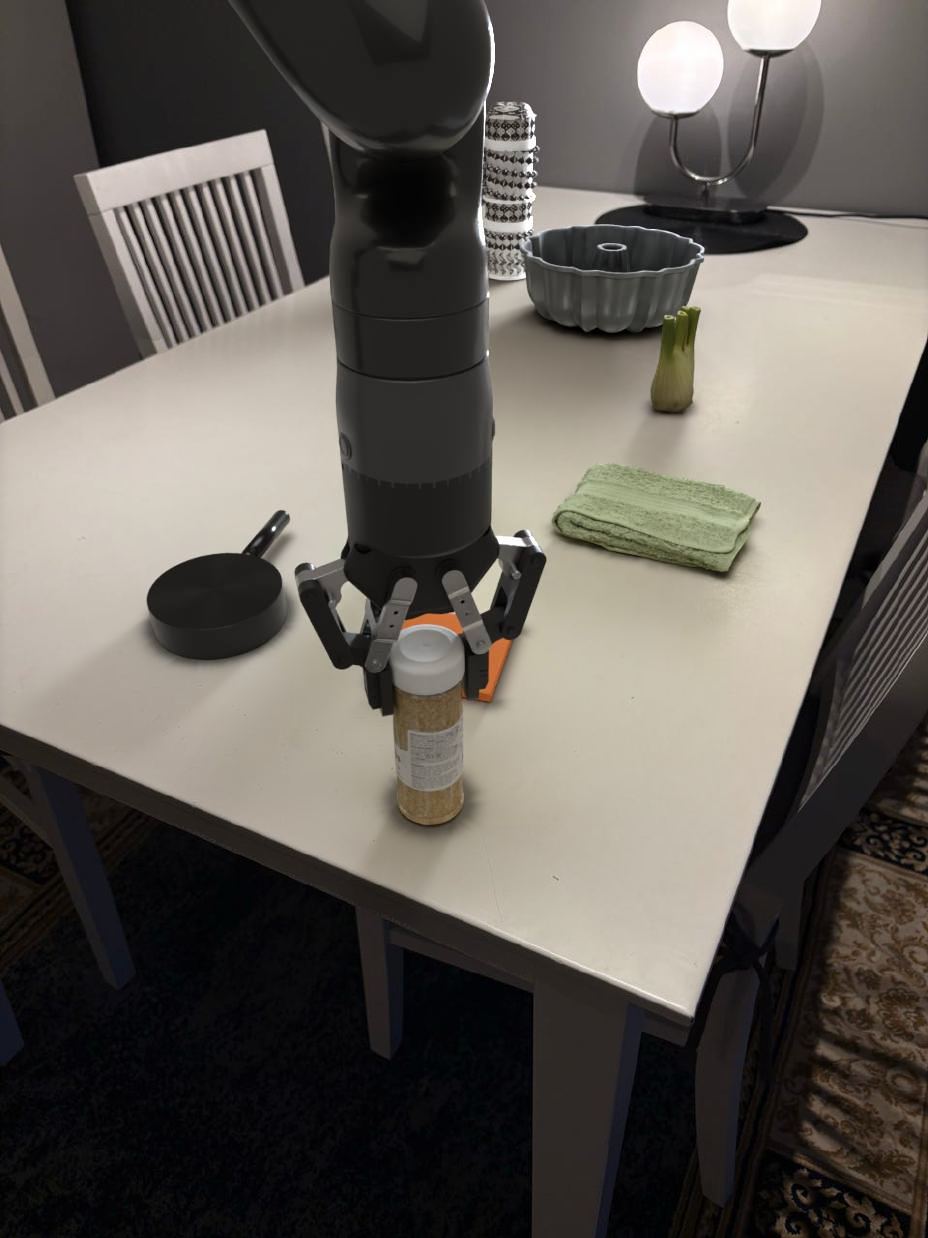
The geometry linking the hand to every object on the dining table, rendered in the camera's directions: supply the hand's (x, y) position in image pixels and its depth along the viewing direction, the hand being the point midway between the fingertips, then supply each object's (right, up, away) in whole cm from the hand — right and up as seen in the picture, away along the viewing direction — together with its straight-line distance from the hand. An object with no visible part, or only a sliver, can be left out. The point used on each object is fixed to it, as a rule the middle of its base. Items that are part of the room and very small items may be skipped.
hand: (426, 697), depth 55 cm
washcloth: (+21, +14, +33) cm, 42 cm away
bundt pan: (+23, +50, +81) cm, 99 cm away
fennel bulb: (+27, +30, +55) cm, 68 cm away
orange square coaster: (+1, +2, +18) cm, 18 cm away
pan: (-17, +7, +25) cm, 31 cm away
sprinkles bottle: (0, -8, +6) cm, 10 cm away
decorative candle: (+10, +63, +98) cm, 117 cm away
